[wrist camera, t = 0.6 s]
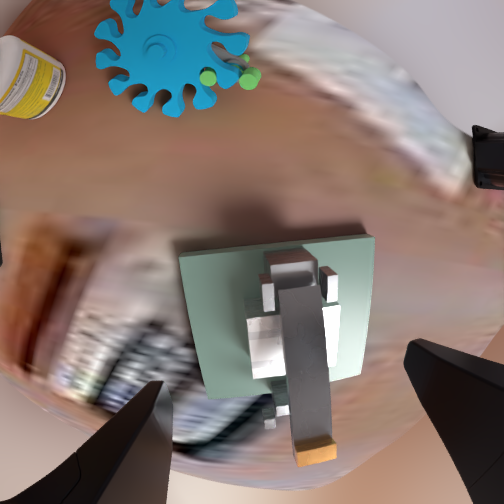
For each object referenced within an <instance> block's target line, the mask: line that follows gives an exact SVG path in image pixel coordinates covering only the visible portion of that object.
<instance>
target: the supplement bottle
mask: <svg viewBox="0 0 504 504" xmlns="http://www.w3.org/2000/svg"><path fill="white" fill-rule="evenodd" d="M65 80H66V73H65V68H64V66H63V65H62V64H61V63H60V62H59V61H58V60H56V59H55V58H53V57H51V56H50V55H48V54H46V53H44V52H43V51H41V50H39V49H37V48H36V47H34V46H32V45H30V44H29V43H27V42H25V41H23V40H21V39H19V38H17V37H15V36H11V35H8V36H3V37H1V38H0V114H2V115H7V116H13V117H19V118H24V119H37V118H39V117H41V116H43V115H45V114H46V113H47V112H48V111H49V110H50V109H51V108H52V107H53V106H54V105H55V104H56V102H57V101H58V99H59V97H60V96H61V94H62V91H63V88H64V85H65Z"/></svg>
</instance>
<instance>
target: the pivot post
mask: <svg viewBox="0 0 504 504" xmlns="http://www.w3.org/2000/svg"><path fill="white" fill-rule="evenodd" d="M263 259H264V274H258V278H259V291H260V301H261V304H262V307H263V310H264V312H267V311H275V303H274V298H275V297H277V295H276V291H277V290H285V289H292V288H300V287H307V286H315V285H318V260H317V259H316V258H315V257H314V256H313V255H312V254H311V253H310V252H309V251H307V250H306V249H305V248H304V247H301V248H291V249H282V250H273V251H263ZM319 285H320V288H321V295H322V297H323V298H324V299H325V300H326V302H327V303H329V302H335V301H337V293H338V274H337V273H336V272H334V271H333V270H332V269H331V268H330V267H329V266H322V267H319Z"/></svg>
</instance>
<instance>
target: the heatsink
mask: <svg viewBox="0 0 504 504" xmlns="http://www.w3.org/2000/svg"><path fill="white" fill-rule="evenodd" d="M321 296H322V295H321ZM243 300H244V310H245V319H246V329H247V338H248V347H249V356H250V362H251V368H252V375H253V379H258V378H266V377H273V376H280V375H285V365H284V356H283V347H282V338H281V329H280V320H279V312H278V303H277V297H275V298H274V303H275V311H267V312H264V310H263V307H262V304H261V301H260V298H252V299H243ZM322 304H323V313H324V322H325V332H326V342H327V353H328V366H333V365H335V362H336V352H337V341H338V329H339V314H340V305H339V303H338V302H337V301H335V302H329V303H327V302H326V300H325V299H324V298H323V297H322Z"/></svg>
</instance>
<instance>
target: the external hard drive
mask: <svg viewBox="0 0 504 504" xmlns="http://www.w3.org/2000/svg"><path fill="white" fill-rule="evenodd" d="M1 265H2V253H1V243H0V266H1Z"/></svg>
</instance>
